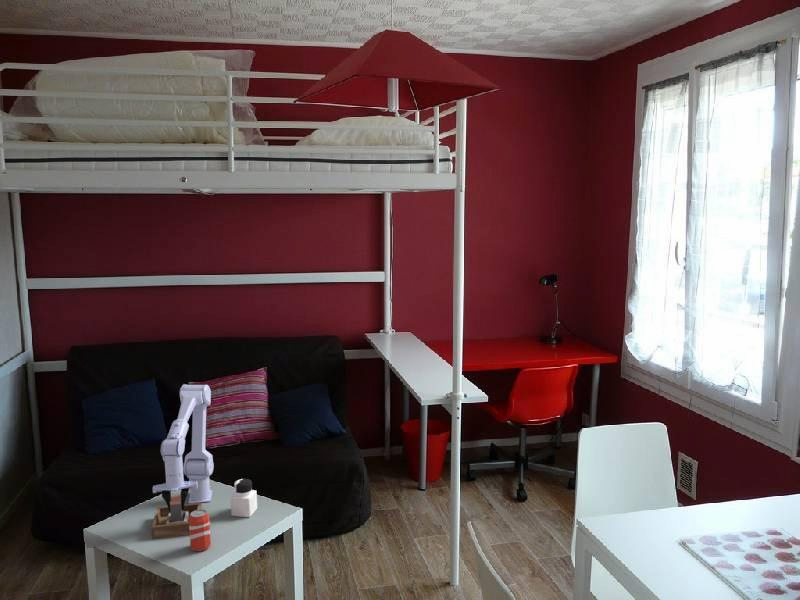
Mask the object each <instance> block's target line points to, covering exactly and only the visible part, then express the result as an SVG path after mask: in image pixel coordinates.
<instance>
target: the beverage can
mask: <svg viewBox="0 0 800 600" xmlns="http://www.w3.org/2000/svg"><path fill="white" fill-rule="evenodd" d="M190 515H191V516H190V518H189V531H190V535H189V542H190V543H189V545H190V549H191V550H192V551H195V552H203V551H205V550H207V549H208V548H210V547H211V543H212V541H211V526H210V524H211V523H210V515H209V513H208V511H207V510H206V509H203V508H202V509H199V510H195V511H193V512H191V514H190ZM202 550H203V551H202Z"/></svg>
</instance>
